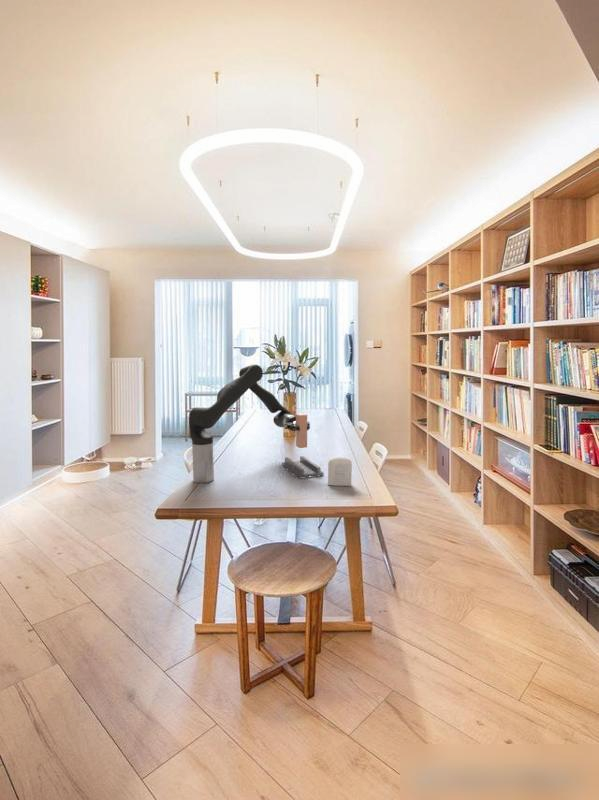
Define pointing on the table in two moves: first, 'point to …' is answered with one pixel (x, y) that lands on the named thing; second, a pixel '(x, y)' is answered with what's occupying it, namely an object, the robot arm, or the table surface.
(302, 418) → the panel block
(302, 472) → the track
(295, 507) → the table surface
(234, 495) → the table surface
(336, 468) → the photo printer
